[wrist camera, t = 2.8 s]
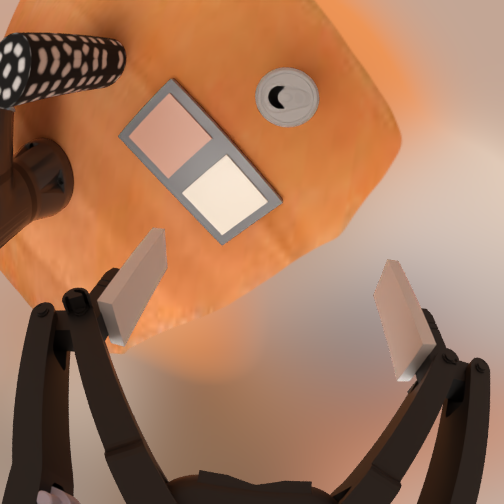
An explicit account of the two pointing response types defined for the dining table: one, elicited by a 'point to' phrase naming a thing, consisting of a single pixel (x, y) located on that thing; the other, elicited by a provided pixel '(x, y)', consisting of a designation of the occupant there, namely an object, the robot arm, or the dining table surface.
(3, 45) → the spotted tube
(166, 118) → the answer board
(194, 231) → the dining table surface
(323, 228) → the dining table surface
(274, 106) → the beverage can
